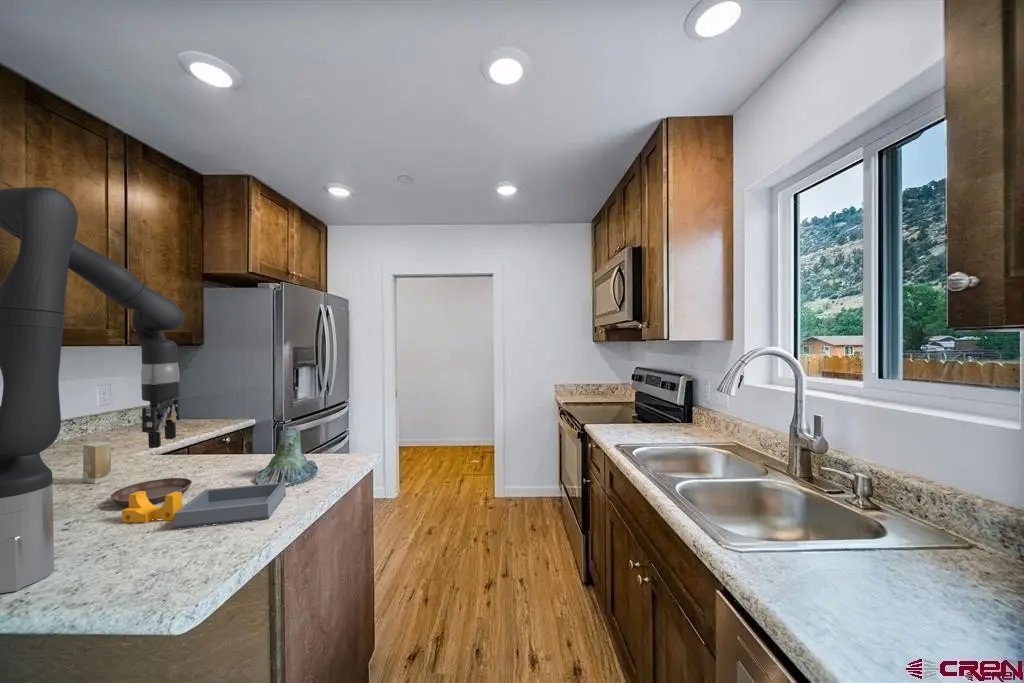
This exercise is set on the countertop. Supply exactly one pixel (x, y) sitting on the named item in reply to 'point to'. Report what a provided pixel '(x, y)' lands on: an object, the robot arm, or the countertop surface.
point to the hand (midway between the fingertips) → (163, 443)
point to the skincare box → (96, 462)
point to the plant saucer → (152, 490)
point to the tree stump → (288, 462)
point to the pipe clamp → (151, 508)
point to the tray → (231, 505)
